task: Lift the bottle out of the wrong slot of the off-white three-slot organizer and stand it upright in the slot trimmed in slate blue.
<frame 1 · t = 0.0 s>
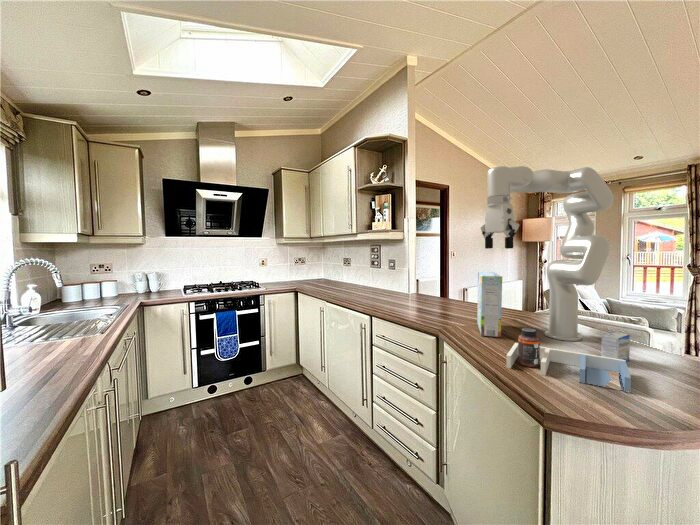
hand: (498, 248, 112), 37 cm above the table, tool pointing down, fingers open, 9 cm apart
snack box: (488, 330, 136), on the table
medicine box: (615, 361, 98), on the table
supplement bottle: (528, 364, 97), resting in organizer
organizer: (563, 370, 92), on the table
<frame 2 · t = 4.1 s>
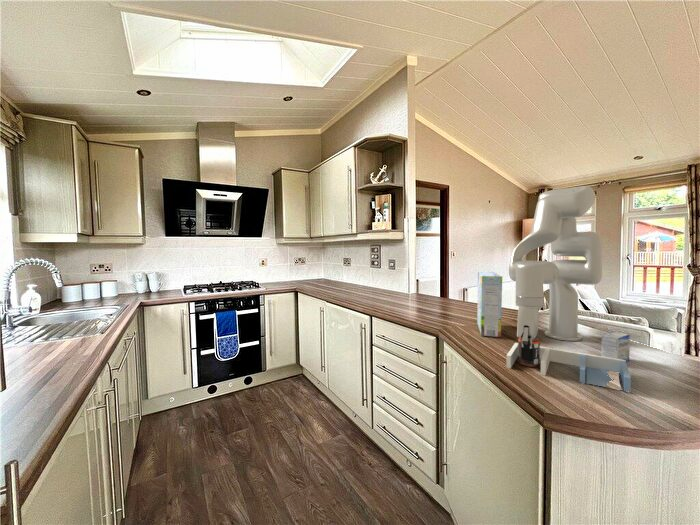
hand: (528, 356, 97), 3 cm above the table, tool pointing down, fingers closed on supplement bottle, 6 cm apart
supplement bottle: (528, 364, 97), resting in organizer, touching gripper
everything else where it was.
when the fingers open (4 cm above the table, at t = 11.8 s): supplement bottle stays where it is, resting on organizer.
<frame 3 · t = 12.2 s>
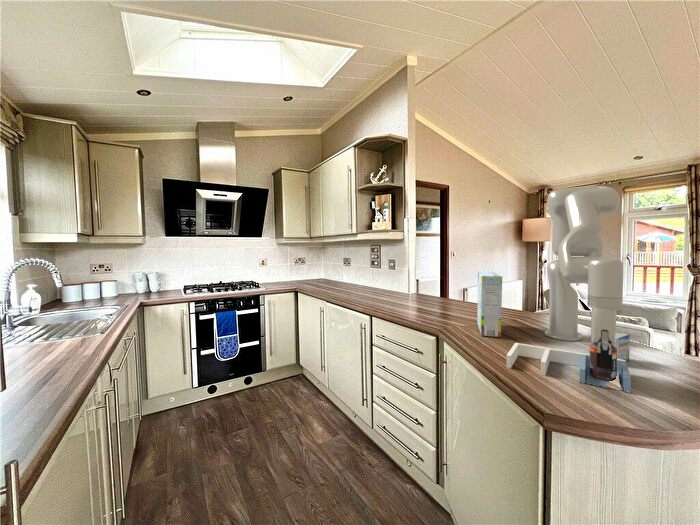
hand: (603, 361, 86), 5 cm above the table, tool pointing down, fingers open, 9 cm apart
supplement bottle: (602, 377, 86), resting on organizer
everything else where it was.
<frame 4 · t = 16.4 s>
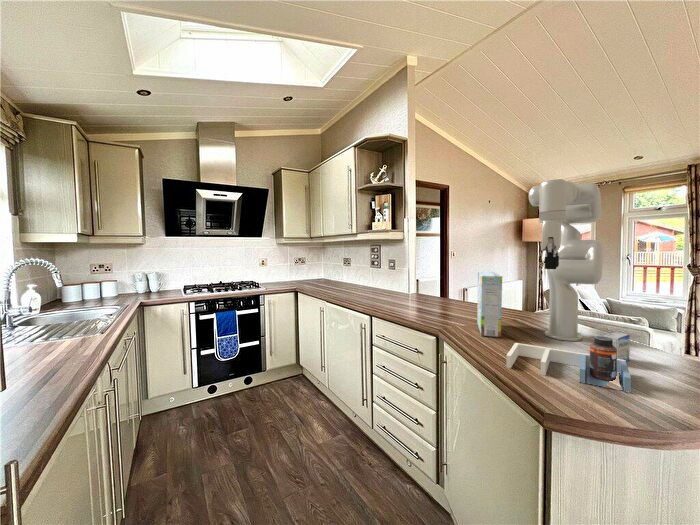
hand: (551, 267, 103), 30 cm above the table, tool pointing down, fingers open, 9 cm apart
nothing on the table moved.
at the end: supplement bottle 0.5 cm from the target spot on the organizer, point 0.1 cm above the organizer's base; supplement bottle tilted 0°; the gripper is holding nothing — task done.
